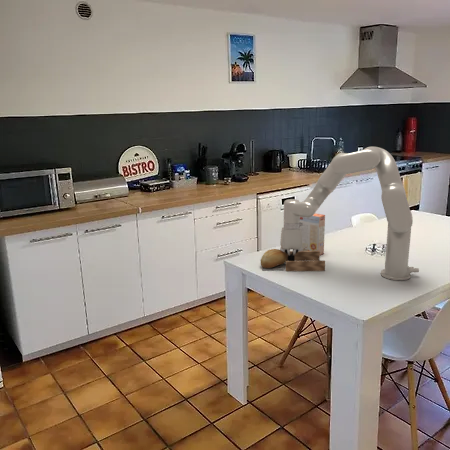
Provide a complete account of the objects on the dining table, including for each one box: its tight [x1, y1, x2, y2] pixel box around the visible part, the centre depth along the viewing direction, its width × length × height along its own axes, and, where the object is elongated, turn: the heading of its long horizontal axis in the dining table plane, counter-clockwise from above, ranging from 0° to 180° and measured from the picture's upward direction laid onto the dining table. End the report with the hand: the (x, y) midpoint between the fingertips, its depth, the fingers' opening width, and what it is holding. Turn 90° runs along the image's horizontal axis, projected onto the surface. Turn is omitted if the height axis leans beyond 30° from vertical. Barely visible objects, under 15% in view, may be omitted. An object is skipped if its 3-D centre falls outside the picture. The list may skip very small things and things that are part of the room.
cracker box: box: [300, 212, 326, 256], centre depth 232 cm, size 14×6×21 cm, turn 47°
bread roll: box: [260, 248, 287, 269], centre depth 215 cm, size 10×15×8 cm, turn 132°
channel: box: [285, 250, 326, 272], centre depth 216 cm, size 18×16×4 cm
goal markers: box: [261, 268, 285, 272], centre depth 217 cm, size 10×14×1 cm
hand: (291, 262), depth 216 cm, fingers closed
